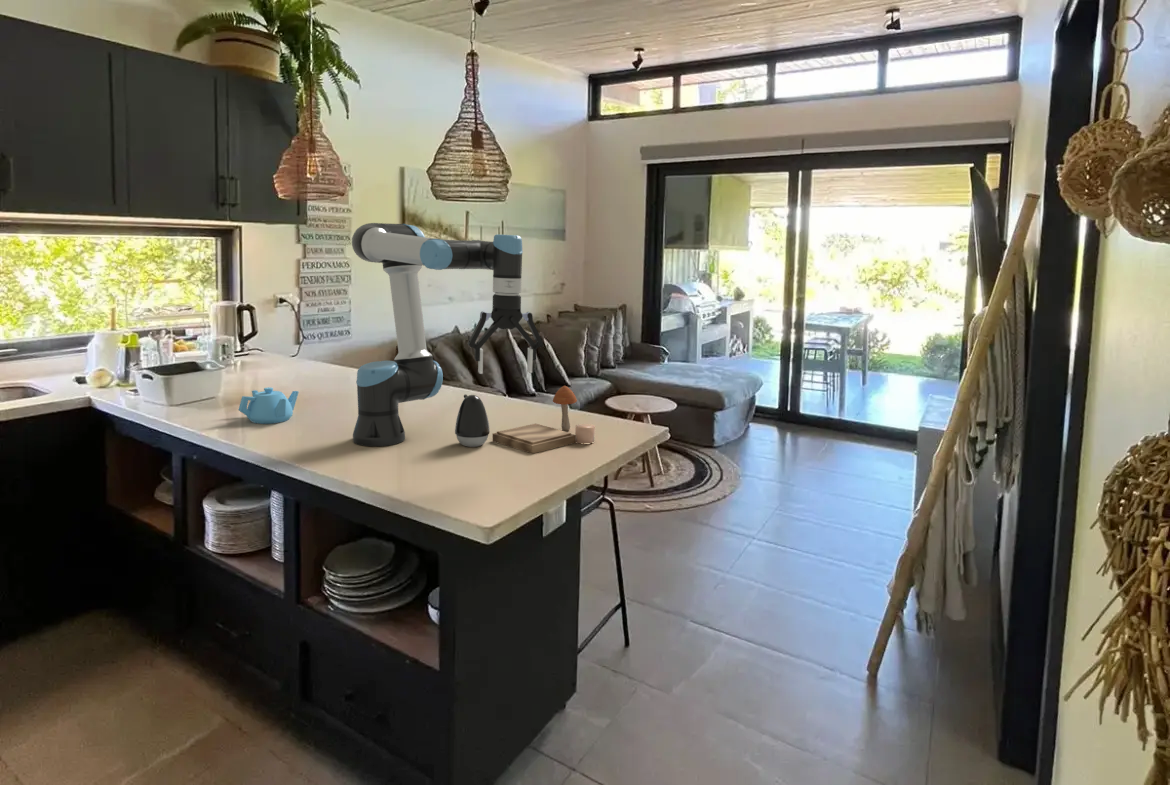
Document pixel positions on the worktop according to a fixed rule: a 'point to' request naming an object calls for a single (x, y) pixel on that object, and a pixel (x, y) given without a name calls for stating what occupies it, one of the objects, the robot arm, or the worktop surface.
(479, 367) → the robot arm
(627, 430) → the worktop surface
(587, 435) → the pink rounded glossy part
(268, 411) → the teapot
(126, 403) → the worktop surface
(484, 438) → the pump dispenser
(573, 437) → the walnut tray
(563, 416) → the mushroom
